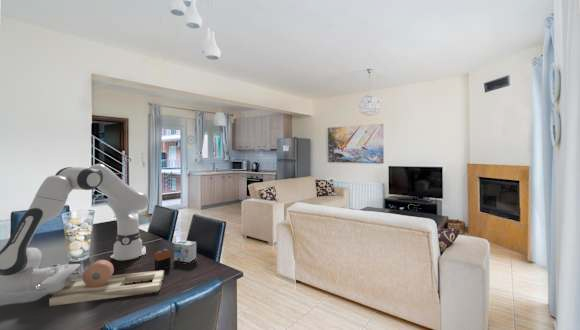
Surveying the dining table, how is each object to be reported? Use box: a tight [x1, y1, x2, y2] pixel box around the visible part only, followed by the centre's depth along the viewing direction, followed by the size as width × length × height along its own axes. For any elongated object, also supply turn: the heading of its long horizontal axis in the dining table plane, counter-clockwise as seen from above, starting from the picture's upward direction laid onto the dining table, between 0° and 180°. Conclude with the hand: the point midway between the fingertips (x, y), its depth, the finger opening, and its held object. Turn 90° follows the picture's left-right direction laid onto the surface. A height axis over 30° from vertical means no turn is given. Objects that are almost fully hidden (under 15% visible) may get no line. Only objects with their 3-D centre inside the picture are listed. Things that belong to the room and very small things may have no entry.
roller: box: [82, 259, 115, 288], centre depth 120 cm, size 6×10×10 cm, turn 108°
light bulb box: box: [173, 239, 197, 262], centre depth 156 cm, size 11×7×11 cm, turn 71°
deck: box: [48, 269, 165, 307], centre depth 122 cm, size 17×40×3 cm, turn 108°
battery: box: [154, 248, 171, 271], centre depth 145 cm, size 4×7×10 cm, turn 146°
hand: (84, 274), depth 118 cm, fingers closed
